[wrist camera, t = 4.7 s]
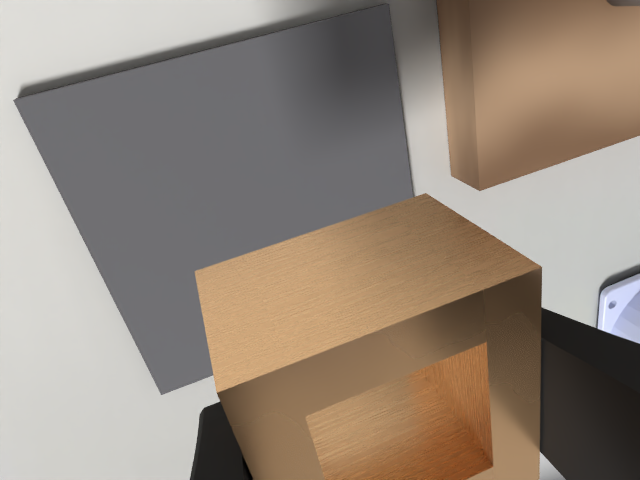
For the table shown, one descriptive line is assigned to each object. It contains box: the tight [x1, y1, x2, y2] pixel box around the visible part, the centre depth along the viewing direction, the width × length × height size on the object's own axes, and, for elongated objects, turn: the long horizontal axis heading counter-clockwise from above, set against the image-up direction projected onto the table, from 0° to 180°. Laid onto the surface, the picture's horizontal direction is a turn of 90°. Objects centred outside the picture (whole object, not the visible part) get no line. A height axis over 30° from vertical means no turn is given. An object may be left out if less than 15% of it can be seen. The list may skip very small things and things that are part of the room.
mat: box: [13, 4, 413, 395], centre depth 18 cm, size 12×12×1 cm
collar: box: [195, 193, 542, 480], centre depth 9 cm, size 5×5×4 cm
